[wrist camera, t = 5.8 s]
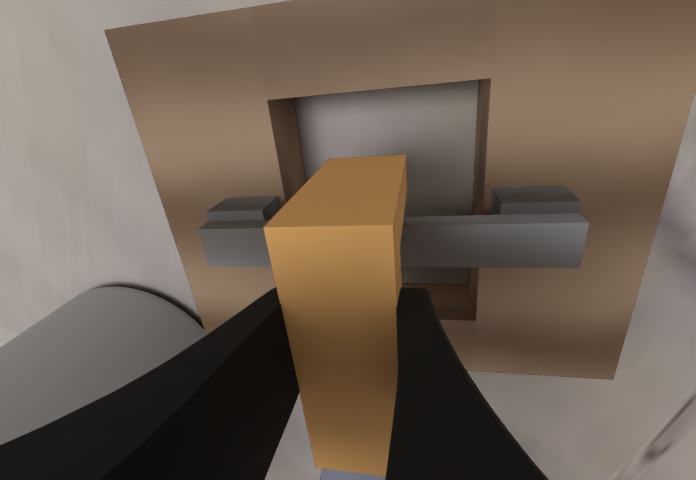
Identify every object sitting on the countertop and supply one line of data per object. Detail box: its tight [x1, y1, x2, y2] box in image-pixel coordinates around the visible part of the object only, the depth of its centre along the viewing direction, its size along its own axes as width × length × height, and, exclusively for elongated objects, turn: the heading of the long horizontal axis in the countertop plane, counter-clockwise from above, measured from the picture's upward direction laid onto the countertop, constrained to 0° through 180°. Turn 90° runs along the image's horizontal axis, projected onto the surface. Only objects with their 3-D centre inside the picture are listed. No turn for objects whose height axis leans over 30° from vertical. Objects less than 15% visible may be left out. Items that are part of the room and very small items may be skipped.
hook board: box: [104, 0, 696, 380], centre depth 15 cm, size 16×20×6 cm
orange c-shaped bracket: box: [263, 154, 407, 477], centre depth 11 cm, size 7×2×6 cm, turn 6°
